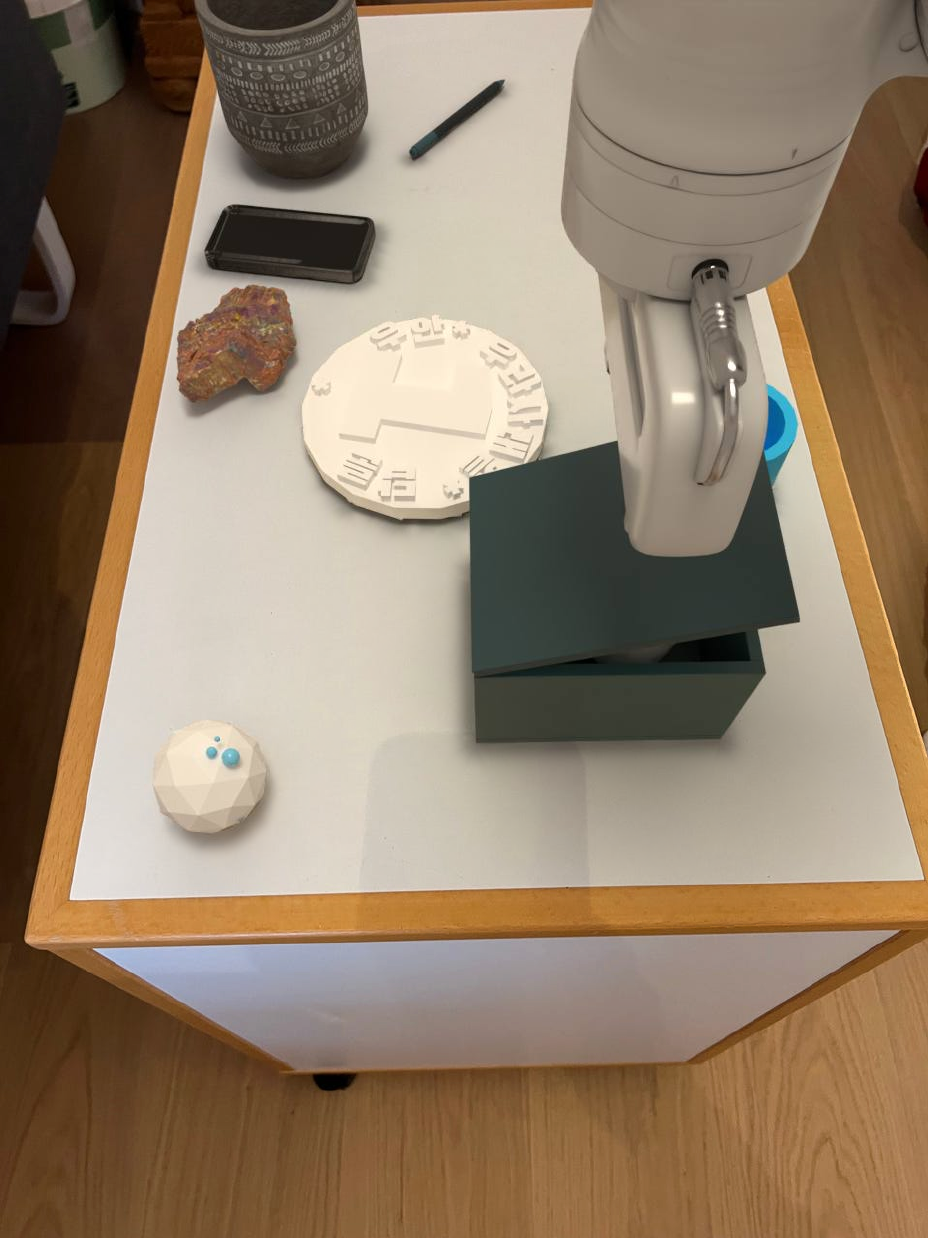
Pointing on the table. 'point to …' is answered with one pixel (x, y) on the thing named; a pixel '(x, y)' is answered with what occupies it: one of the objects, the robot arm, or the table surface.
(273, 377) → the mineral specimen
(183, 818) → the ornament
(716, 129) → the robot arm
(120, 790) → the table surface
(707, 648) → the chest
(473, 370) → the giant coin
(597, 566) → the lid
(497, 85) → the pen
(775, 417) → the mug
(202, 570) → the table surface
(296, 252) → the phone
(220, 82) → the planter
